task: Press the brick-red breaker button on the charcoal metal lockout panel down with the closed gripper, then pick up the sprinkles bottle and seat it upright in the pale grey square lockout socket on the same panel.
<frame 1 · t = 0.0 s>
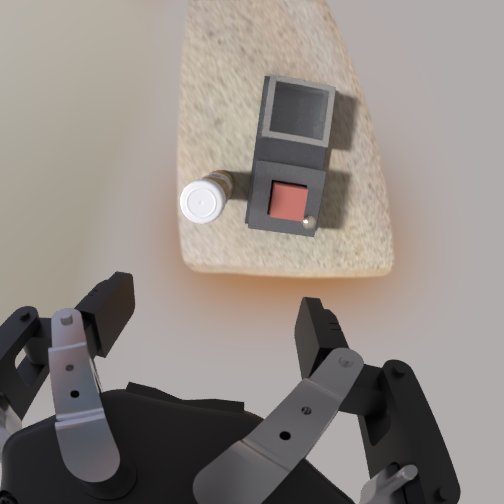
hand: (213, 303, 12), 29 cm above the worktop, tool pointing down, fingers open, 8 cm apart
sprinkles bottle: (219, 185, 39), on the worktop
lockout panel: (289, 153, 37), on the worktop
breaker button: (287, 199, 35), point 5 cm above the worktop, slide at 0.0 cm
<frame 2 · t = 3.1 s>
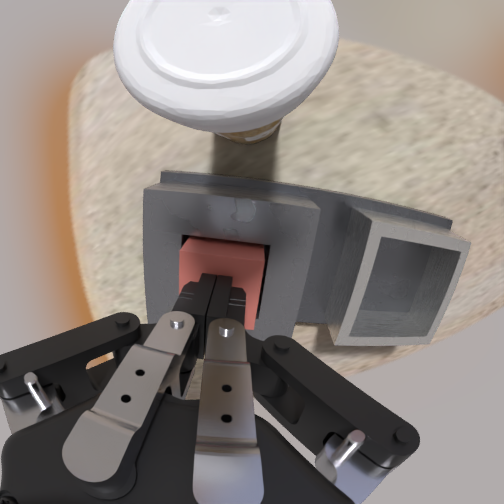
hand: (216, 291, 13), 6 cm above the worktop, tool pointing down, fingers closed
sprinkles bottle: (246, 111, 16), on the worktop
lockout panel: (313, 257, 19), on the worktop
breaker button: (223, 271, 16), point 4 cm above the worktop, slide at 1.0 cm, touching gripper
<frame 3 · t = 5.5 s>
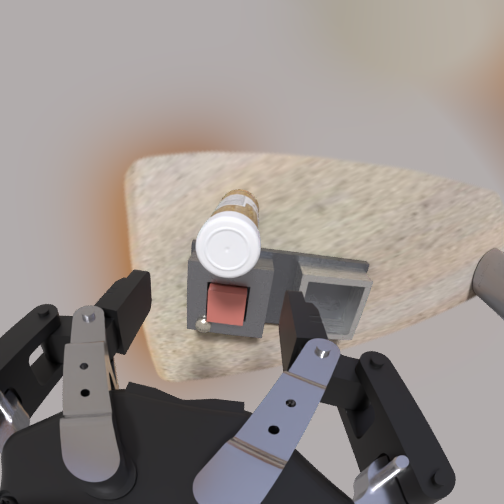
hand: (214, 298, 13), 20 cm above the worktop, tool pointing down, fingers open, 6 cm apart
sprinkles bottle: (239, 207, 31), on the worktop
lockout panel: (277, 287, 35), on the worktop
breaker button: (228, 296, 31), point 4 cm above the worktop, slide at 1.2 cm
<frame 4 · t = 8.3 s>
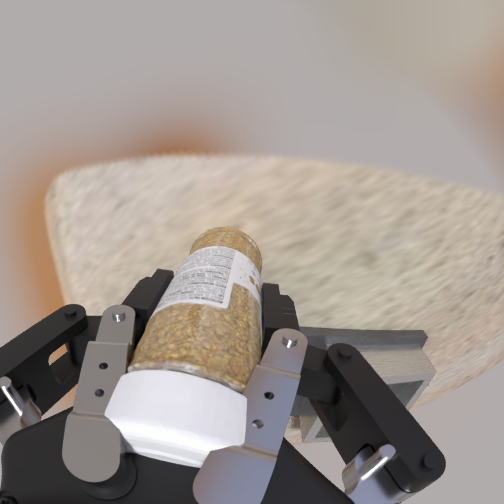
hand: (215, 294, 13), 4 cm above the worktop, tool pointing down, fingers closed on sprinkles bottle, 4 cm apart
sprinkles bottle: (225, 258, 17), on the worktop, touching gripper
lockout panel: (289, 373, 21), on the worktop
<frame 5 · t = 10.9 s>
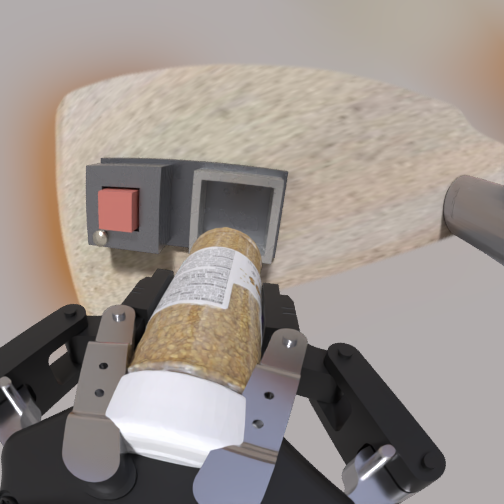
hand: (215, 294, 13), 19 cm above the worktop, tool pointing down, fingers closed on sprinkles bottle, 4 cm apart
sprinkles bottle: (225, 258, 17), point 15 cm above the worktop, touching gripper
lockout panel: (185, 203, 30), on the worktop
breaker button: (124, 206, 27), point 4 cm above the worktop, slide at 1.2 cm
when the fingers open (7 cm above the worktop, at t = 14.0 s): sprinkles bottle drops 1 cm, resting on lockout panel.
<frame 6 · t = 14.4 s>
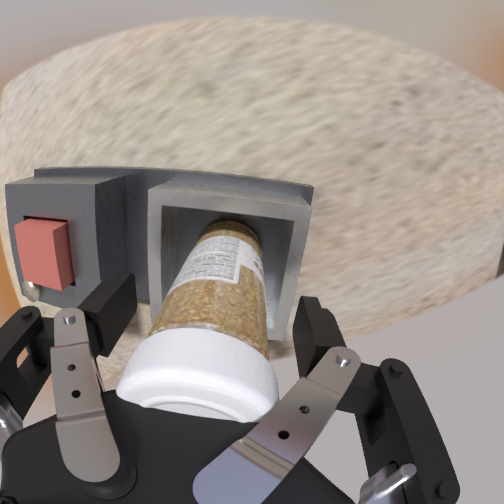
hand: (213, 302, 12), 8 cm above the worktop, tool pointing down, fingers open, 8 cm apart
sprinkles bottle: (228, 250, 18), point 1 cm above the worktop, touching lockout panel
lockout panel: (148, 235, 19), on the worktop
breaker button: (57, 244, 15), point 4 cm above the worktop, slide at 1.2 cm
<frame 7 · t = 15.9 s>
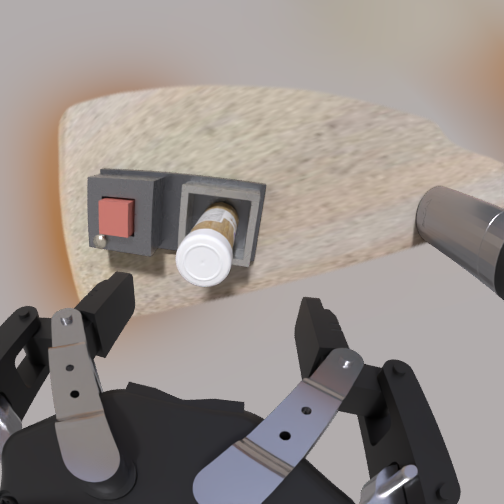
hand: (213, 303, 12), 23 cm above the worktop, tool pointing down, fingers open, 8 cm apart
sprinkles bottle: (220, 218, 34), point 1 cm above the worktop, touching lockout panel
lockout panel: (175, 211, 34), on the worktop
breaker button: (121, 213, 30), point 4 cm above the worktop, slide at 1.2 cm
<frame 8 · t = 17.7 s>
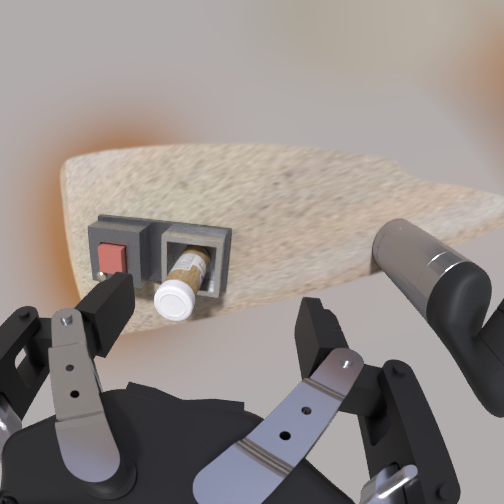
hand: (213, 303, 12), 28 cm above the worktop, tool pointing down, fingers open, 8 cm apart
sprinkles bottle: (196, 257, 41), point 1 cm above the worktop, touching lockout panel
lockout panel: (160, 250, 42), on the worktop
breaker button: (117, 254, 38), point 4 cm above the worktop, slide at 1.2 cm
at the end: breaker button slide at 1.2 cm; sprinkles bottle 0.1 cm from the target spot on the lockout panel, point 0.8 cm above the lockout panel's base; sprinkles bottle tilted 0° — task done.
